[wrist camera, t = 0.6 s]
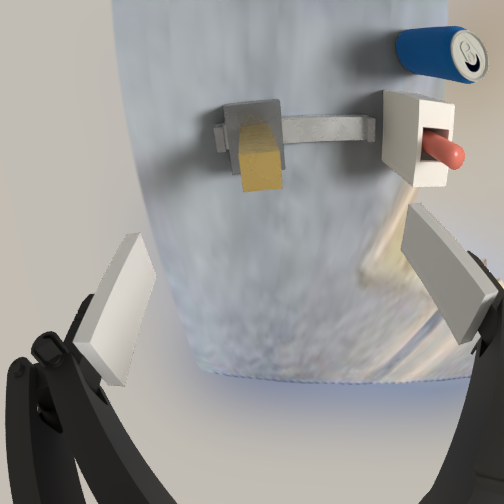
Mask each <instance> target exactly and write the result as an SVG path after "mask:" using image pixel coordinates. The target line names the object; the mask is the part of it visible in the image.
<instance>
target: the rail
mask: <svg viewBox="0 0 504 504" xmlns="http://www.w3.org/2000/svg"><path fill="white" fill-rule="evenodd" d="M281 120H282V132H283V144H284V143H298V142H315V141H341V140H365V141H367V142H375V118H373V117H371V116H368V115H366V114H324V115H298V116H282V117H281ZM213 129H214V136H215V142H216V149H217V153H220V152H226V149H229V146H228V139H227V132H226V125H225V122H224V123H217V124H215V126H214V128H213Z"/></svg>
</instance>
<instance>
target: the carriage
mask: <svg viewBox="0 0 504 504" xmlns="http://www.w3.org/2000/svg"><path fill="white" fill-rule="evenodd" d="M223 111H224V118H225V125H226V132H227V139H228V146H229V153H230V160H231V167H232V174H233V175H236V174H241V178H242V186H243V192H250V191H260V190H270V189H280V188H282V174H281V170H285V159H284V145H283V132H282V120H281V108H280V101H279V100H278V99H272V100H260V101H250V102H241V103H232V104H225V105H224V106H223Z"/></svg>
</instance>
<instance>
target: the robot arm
mask: <svg viewBox="0 0 504 504" xmlns="http://www.w3.org/2000/svg"><path fill="white" fill-rule="evenodd" d="M401 251H402V252H403V254H404V255H405V257H406V258H407V260H408V261H409V263H410V264H411V266H412V267H413V269H414V270H415V272H416V273H417V275H418V276H419V278H420V279H421V281H422V283H423V284H424V286H425V287H426V289H427V291H428V292H429V294H430V295H431V297H432V299H433V300H434V302H435V304H436V305H437V307H438V309H439V310H440V312H441V314H442V316H443V317H444V319H445V321H446V323H447V324H448V326H449V328H450V330H451V332H452V334H453V335H454V337H455V339H456V341H457V343H458V345H460V344H463V343H466V342H469V341H472V339H473V338H474V336H475V334H476V333H477V331H478V332H479V334H480V335H481V337H480V339H479V340H478V342H477V343H476V345H475V346H474V348H473V350H472V352H471V354H472V355H473V353H474V352H475V350H476V356H475V361H474V366H473V370H472V375H471V380H470V384H469V388H468V392H467V395H466V399H465V403H464V406H463V409H462V413H461V416H460V419H459V422H458V425H457V428H456V431H455V434H454V437H453V440H452V442H451V445H450V448H449V450H448V453H447V455H446V458H445V460H444V463H443V465H442V467H441V470H440V472H439V474H438V476H437V478H436V480H435V483H434V485H433V487H432V488H431V490H430V491H429V492H428V493H427V494H426V495H425V496H424V497H423V499H422V500H421V501H420V502H419V504H504V289H503V288H502V286H501V285H500V284H499V283H498V281H497V280H496V279H495V277H494V276H493V275H492V274H491V273H490V272H489V270H488V269H487V268H486V266H484V264H483V263H482V262H481V260H480V259H479V258H478V257H477V256H475V255H474V254H473V253H471V252H470V251H466V250H465V249H464V248H463V247H462V245H461V244H460V243H459V242H458V241H457V240H456V239H455V238H454V237H453V236H452V235H451V233H450V232H449V231H448V230H447V229H446V228H445V227H444V226H443V225H442V224H441V223H440V222H439V221H438V220H437V219H436V218H435V217H434V216H433V215H432V214H431V213H430V212H429V211H428V210H427V209H426V208H425V207H424V206H423V205H422V204H421V203H414V204H408V211H407V217H406V223H405V229H404V234H403V240H402V245H401ZM155 280H156V274H155V271H154V269H153V266H152V263H151V261H150V258H149V255H148V253H147V250H146V247H145V244H144V242H143V239H142V236H141V233H134V234H127V235H126V236H125V238H124V240H123V242H122V243H121V245H120V247H119V249H118V250H117V252H116V254H115V256H114V258H113V260H112V262H111V263H110V265H109V267H108V269H107V271H106V273H105V275H104V277H103V278H102V280H101V282H100V284H99V286H98V288H97V291H96V292H95V294H90V295H89V296H88V297H87V298H86V299H85V300H84V301H83V302H82V304H81V306H80V308H79V310H78V314H76V316H75V318H74V321H73V322H72V325H71V326H70V329H69V331H68V333H67V335H66V338H65V340H64V342H62V340H61V339H60V338H59V336H58V335H57V334H56V333H55V332H52V331H50V332H46V333H43V334H42V335H40V336H39V337H38V338H37V339H36V340H35V342H34V343H33V345H32V348H31V354H32V355H33V356H34V358H35V359H36V360H37V361H38V362H39V363H36V364H32V363H31V362H30V361H29V360H28V359H27V358H25V357H20V358H18V359H16V360H15V361H14V362H13V363H12V364H11V365H10V367H9V370H8V374H7V386H6V410H5V413H6V414H5V419H6V420H5V428H6V450H7V463H8V472H9V481H10V487H11V494H12V499H13V504H86V502H85V499H84V495H83V491H82V488H81V485H80V481H79V476H78V472H77V468H76V464H75V459H76V461H77V464H78V466H79V468H80V470H81V472H82V474H83V476H84V478H85V480H86V482H87V484H88V486H89V488H90V490H91V491H92V493H93V495H94V497H95V499H96V500H97V502H98V504H177V503H176V502H175V500H174V499H173V498H172V497H171V495H170V494H169V493H168V492H167V490H166V489H165V488H164V487H163V485H162V484H161V482H160V481H159V480H158V478H157V477H156V476H155V474H154V473H153V471H152V470H151V469H150V467H149V466H148V464H147V463H146V462H145V460H144V459H143V457H142V456H141V454H140V453H139V451H138V449H137V448H136V447H135V445H134V443H133V442H132V440H131V439H130V437H129V435H128V434H127V432H126V430H125V429H124V427H123V425H122V423H121V422H120V420H119V418H118V416H117V415H116V413H115V411H114V409H113V408H112V406H111V404H110V402H109V400H108V398H107V396H106V394H105V392H104V390H103V389H102V387H101V386H100V381H101V378H103V380H104V381H105V382H106V383H107V384H108V385H111V386H112V385H113V386H125V383H126V380H127V375H128V371H129V368H130V364H131V360H132V356H133V353H134V349H135V345H136V341H137V338H138V335H139V331H140V328H141V324H142V321H143V318H144V314H145V311H146V308H147V304H148V301H149V298H150V295H151V292H152V289H153V286H154V283H155ZM37 407H38V410H37ZM74 457H75V459H74Z"/></svg>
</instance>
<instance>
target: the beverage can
mask: <svg viewBox="0 0 504 504" xmlns="http://www.w3.org/2000/svg"><path fill="white" fill-rule="evenodd" d="M396 52H397V56H398V58H399V60H400V62H401V63H402V65H403V66H404V67H405V68H406V69H407V70H409V71H410V72H412V73H415V74H419V75H425V76H431V77H437V78H442V79H447V80H452V81H456V82H461V83H466V84H470V83H474V82H477V81H481V80H482V79H483V78H484V77H485V76H486V74H487V71H488V67H489V59H488V54H487V51H486V48H485V46H484V44H483V42H482V41H481V40H480V38H479V37H478V36H477V35H475V34H474V33H472V32H471V31H468V30H466V29H464V28H462V27H457V26H447V27H430V28H418V29H409V30H405V31H403V32H402V33H401V34H400V35H399V36H398V38H397V41H396Z"/></svg>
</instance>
